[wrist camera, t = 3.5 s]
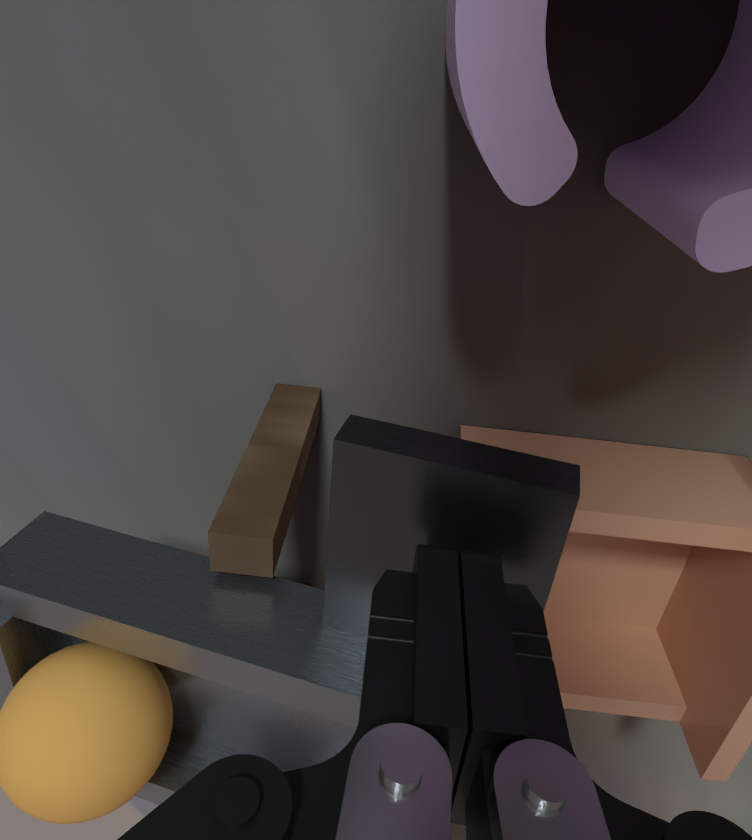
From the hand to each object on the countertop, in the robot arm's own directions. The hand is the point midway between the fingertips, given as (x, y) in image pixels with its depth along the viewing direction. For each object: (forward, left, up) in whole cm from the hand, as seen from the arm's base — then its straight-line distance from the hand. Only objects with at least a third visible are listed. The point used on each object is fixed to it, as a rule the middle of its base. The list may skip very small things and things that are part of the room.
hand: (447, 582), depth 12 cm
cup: (+6, +6, -10) cm, 13 cm away
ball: (+6, -8, 0) cm, 10 cm away
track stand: (+6, -4, -10) cm, 13 cm away
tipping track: (+4, -4, -3) cm, 6 cm away
